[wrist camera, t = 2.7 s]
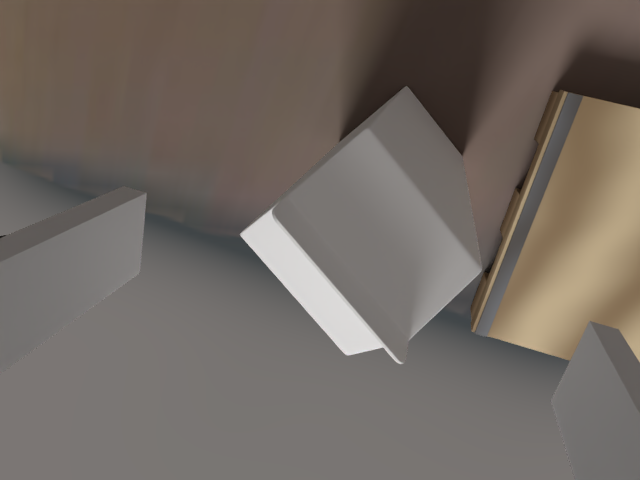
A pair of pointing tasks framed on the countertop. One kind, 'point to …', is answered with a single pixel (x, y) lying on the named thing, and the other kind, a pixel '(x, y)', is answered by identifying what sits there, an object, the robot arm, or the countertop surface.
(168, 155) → the countertop surface
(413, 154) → the milk
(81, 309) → the robot arm
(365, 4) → the countertop surface
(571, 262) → the dock
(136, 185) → the countertop surface
